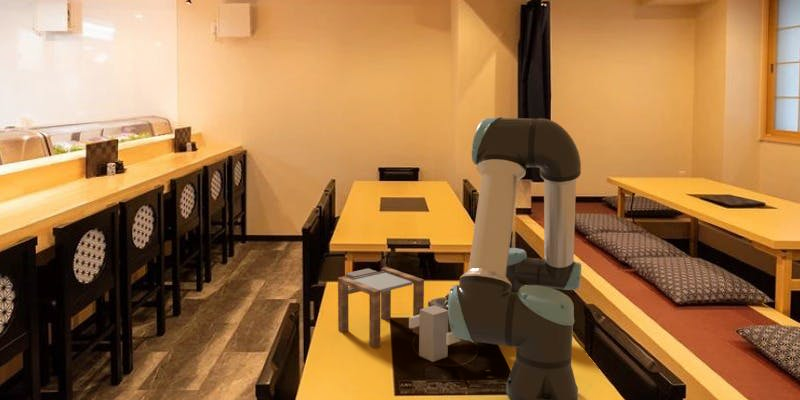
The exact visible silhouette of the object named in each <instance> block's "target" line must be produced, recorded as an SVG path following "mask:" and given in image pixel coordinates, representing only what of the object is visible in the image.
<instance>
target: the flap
mask: <svg viewBox="0 0 800 400" xmlns="http://www.w3.org/2000/svg"><path fill="white" fill-rule="evenodd" d="M345 277H347V278H350V279H352V280H355V281H357V282H360V283H362V284H365V285H368V286H370V287H373V288H375V289H378V290H381V291H380V294H381V292H385V291H389V290H391V291H392V290H396V289H401V288H404V287H408V286H413V283H412V282H411V281H408V280H405V279H403V278H400V277H397V276H394V275H391V274H388V273H385V271H382V272H381V271H377V270H373V269H371V268H364V269H360V270H359V269H358V270H356V271H351V272H346V273H345Z"/></svg>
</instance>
